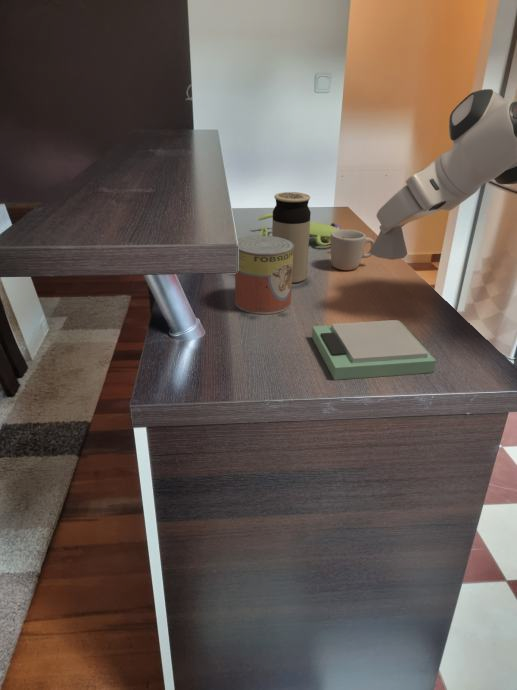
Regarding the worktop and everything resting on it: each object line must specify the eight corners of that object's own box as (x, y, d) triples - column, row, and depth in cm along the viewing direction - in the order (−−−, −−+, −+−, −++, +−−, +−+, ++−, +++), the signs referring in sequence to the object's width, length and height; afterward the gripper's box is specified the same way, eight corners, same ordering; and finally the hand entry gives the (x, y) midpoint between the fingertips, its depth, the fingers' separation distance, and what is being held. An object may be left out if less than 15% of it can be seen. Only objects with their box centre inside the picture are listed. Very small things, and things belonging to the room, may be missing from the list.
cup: (366, 260, 126) (370, 228, 122) (378, 271, 119) (382, 237, 115) (323, 262, 124) (326, 229, 120) (333, 273, 117) (336, 239, 114)
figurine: (261, 227, 150) (261, 208, 147) (353, 234, 145) (355, 214, 143) (247, 247, 134) (247, 225, 131) (350, 254, 130) (352, 233, 127)
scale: (398, 332, 92) (400, 317, 90) (433, 372, 80) (437, 356, 78) (311, 337, 90) (312, 322, 88) (334, 380, 78) (335, 363, 76)
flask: (362, 254, 104) (368, 204, 99) (383, 247, 108) (390, 199, 103) (393, 263, 99) (400, 211, 94) (413, 255, 103) (421, 205, 99)
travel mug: (284, 286, 110) (287, 201, 102) (264, 275, 116) (265, 194, 108) (313, 279, 114) (319, 197, 105) (292, 268, 120) (296, 190, 111)
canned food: (265, 319, 96) (266, 258, 90) (223, 302, 102) (222, 244, 97) (302, 302, 103) (306, 244, 97) (261, 287, 110) (262, 232, 104)
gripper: (460, 163, 98) (407, 206, 108) (406, 176, 85) (351, 223, 95) (478, 191, 97) (422, 231, 108) (427, 208, 84) (369, 252, 95)
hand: (389, 228), depth 101 cm, fingers closed on flask, 3 cm apart
